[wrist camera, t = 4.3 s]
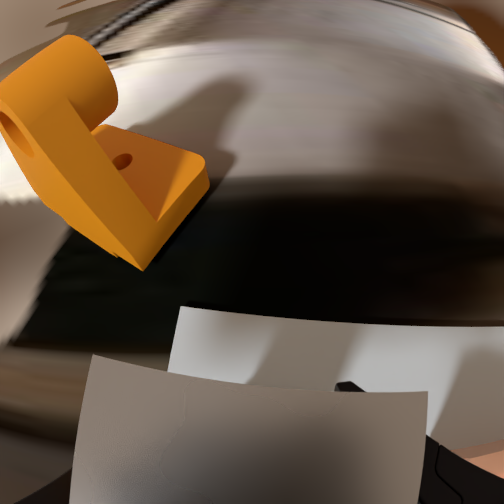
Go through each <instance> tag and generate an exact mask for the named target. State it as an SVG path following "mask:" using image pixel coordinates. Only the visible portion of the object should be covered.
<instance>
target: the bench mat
mask: <svg viewBox="0 0 504 504" xmlns="http://www.w3.org/2000/svg"><path fill="white" fill-rule="evenodd" d="M168 372H171V373H176V374H182V375H188V376H193V377H199V378H205V379H212V380H218V381H225V382H233V383H240V384H248V385H257V386H266V387H276V388H288V389H300V390H316V391H334V389H335V385H336V383H338V382H345V381H352V382H353V383H355V384H356V385H357V386H359V387H360V388H362V389H363V390H364V391H366V392H418V391H428V409H427V427H426V434H427V435H428V436H429V437H431V438H432V439H434V440H435V441H437V442H438V443H439V445H443V446H444V447H446V448H447V449H449V450H454V449H460V448H466V447H471V446H476V445H481V444H485V443H490V442H494V441H498V440H502V439H504V327H431V326H398V325H376V324H357V323H341V322H327V321H313V320H301V319H289V318H278V317H268V316H258V315H249V314H239V313H231V312H222V311H214V310H206V309H198V308H190V307H183V306H181V308H180V313H179V317H178V322H177V327H176V332H175V336H174V341H173V346H172V351H171V356H170V361H169V366H168Z"/></svg>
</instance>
